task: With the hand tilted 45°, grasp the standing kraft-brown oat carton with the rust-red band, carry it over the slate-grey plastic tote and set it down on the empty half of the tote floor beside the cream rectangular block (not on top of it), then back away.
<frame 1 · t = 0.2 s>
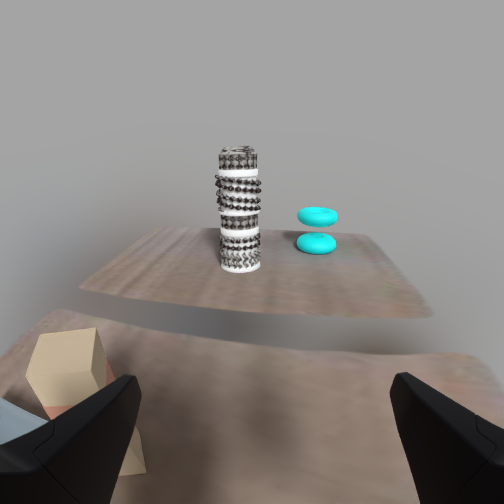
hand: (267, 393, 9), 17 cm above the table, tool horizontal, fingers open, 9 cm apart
donuts: (316, 249, 73), on the table
oat carton: (119, 455, 19), on the table
decorative candle: (240, 265, 63), on the table
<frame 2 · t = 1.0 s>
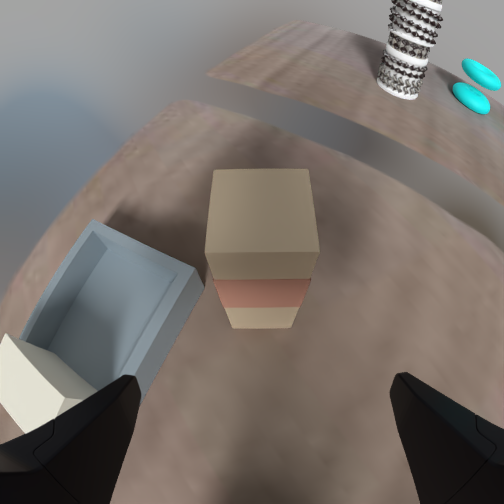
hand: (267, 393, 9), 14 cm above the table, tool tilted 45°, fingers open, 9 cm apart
cream rectangular block: (70, 398, 20), point 1 cm above the table, touching tote
donuts: (469, 103, 44), on the table
oat carton: (261, 301, 25), on the table
tote: (98, 351, 22), on the table
decorative candle: (396, 88, 43), on the table
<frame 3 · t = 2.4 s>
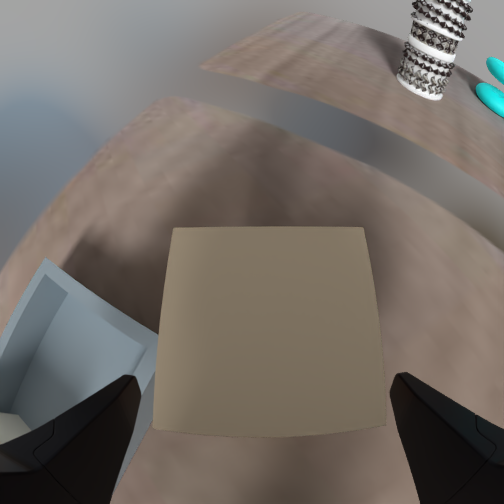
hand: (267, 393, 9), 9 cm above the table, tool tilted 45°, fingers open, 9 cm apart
cream rectangular block: (39, 467, 12), point 1 cm above the table, touching tote
donuts: (493, 106, 36), on the table
oat carton: (264, 374, 17), on the table
tote: (64, 420, 15), on the table
decorative candle: (419, 86, 36), on the table
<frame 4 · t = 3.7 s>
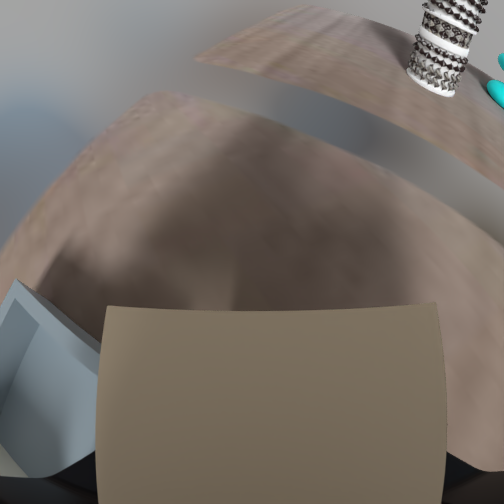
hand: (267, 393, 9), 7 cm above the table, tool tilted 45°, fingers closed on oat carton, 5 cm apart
cream rectangular block: (25, 499, 9), point 1 cm above the table, touching tote
oat carton: (264, 417, 14), on the table, touching gripper
tote: (46, 454, 12), on the table
decorative candle: (430, 82, 32), on the table
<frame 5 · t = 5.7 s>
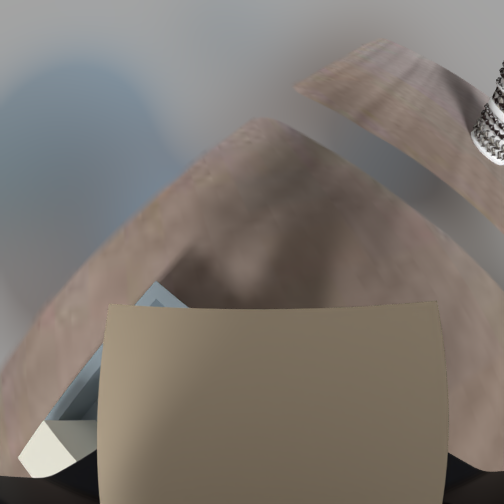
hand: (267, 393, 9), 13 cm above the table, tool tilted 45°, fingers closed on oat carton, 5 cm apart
cream rectangular block: (112, 469, 17), point 1 cm above the table, touching tote
oat carton: (264, 417, 14), point 7 cm above the table, touching gripper
tote: (150, 430, 19), on the table
decorative candle: (488, 148, 35), on the table
when the fingers open (9 cm above the table, at t = 7.8 s): oat carton drops 1 cm, resting on tote.
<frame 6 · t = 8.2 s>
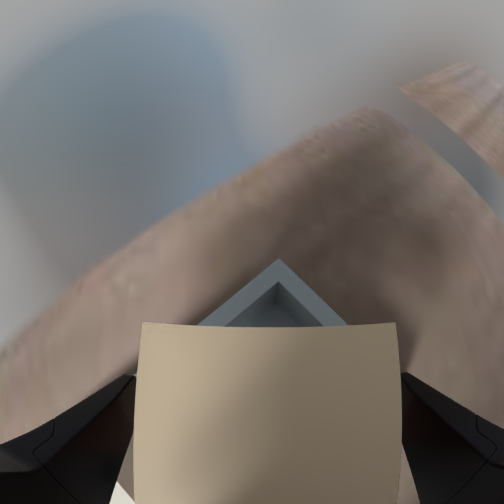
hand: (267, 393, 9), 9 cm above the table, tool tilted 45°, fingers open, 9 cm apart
cream rectangular block: (156, 491, 13), point 1 cm above the table, touching tote
oat carton: (263, 414, 15), point 1 cm above the table, touching tote
tote: (221, 448, 15), on the table
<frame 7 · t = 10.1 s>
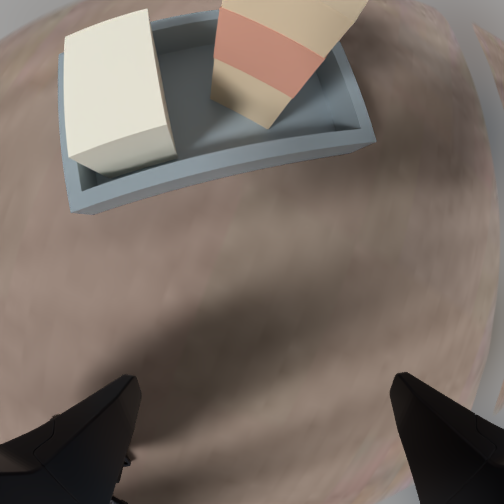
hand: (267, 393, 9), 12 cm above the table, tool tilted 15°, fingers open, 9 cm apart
cream rectangular block: (133, 117, 18), point 1 cm above the table, touching tote
oat carton: (254, 89, 19), point 1 cm above the table, touching tote
tote: (207, 101, 19), on the table
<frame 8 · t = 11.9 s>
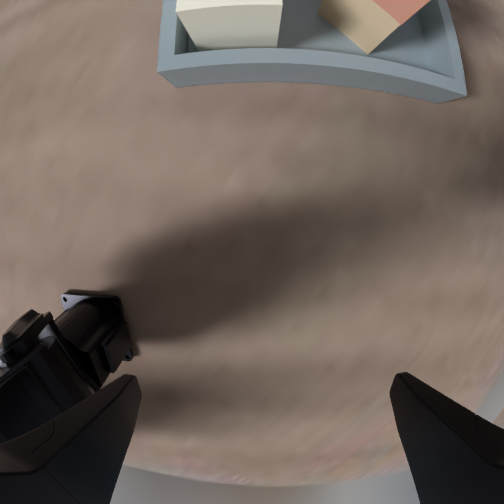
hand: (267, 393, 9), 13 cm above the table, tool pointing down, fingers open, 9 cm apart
cream rectangular block: (238, 10, 15), point 1 cm above the table, touching tote
oat carton: (360, 18, 15), point 1 cm above the table, touching tote
tote: (313, 15, 16), on the table
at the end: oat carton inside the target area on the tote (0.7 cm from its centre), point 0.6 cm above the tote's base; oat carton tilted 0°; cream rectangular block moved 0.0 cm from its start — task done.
